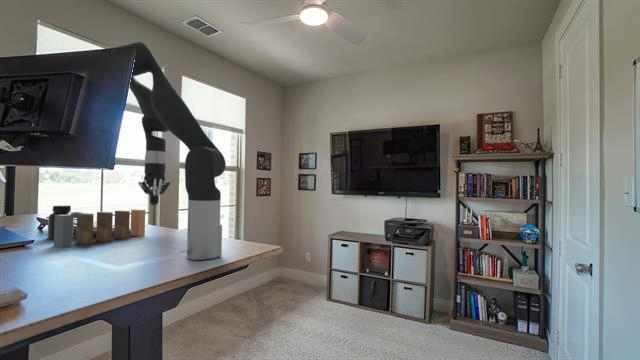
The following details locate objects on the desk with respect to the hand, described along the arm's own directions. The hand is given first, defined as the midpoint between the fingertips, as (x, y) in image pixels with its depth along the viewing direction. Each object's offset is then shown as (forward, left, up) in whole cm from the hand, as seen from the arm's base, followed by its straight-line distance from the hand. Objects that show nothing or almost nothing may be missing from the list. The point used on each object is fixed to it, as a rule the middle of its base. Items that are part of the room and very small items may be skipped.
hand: (154, 204), depth 121 cm
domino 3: (+11, +7, -12) cm, 17 cm away
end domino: (+26, +16, -12) cm, 33 cm away
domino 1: (+21, +13, -12) cm, 27 cm away
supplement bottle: (+29, 0, -12) cm, 31 cm away
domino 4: (+6, +4, -12) cm, 13 cm away
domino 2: (+16, +10, -12) cm, 22 cm away
